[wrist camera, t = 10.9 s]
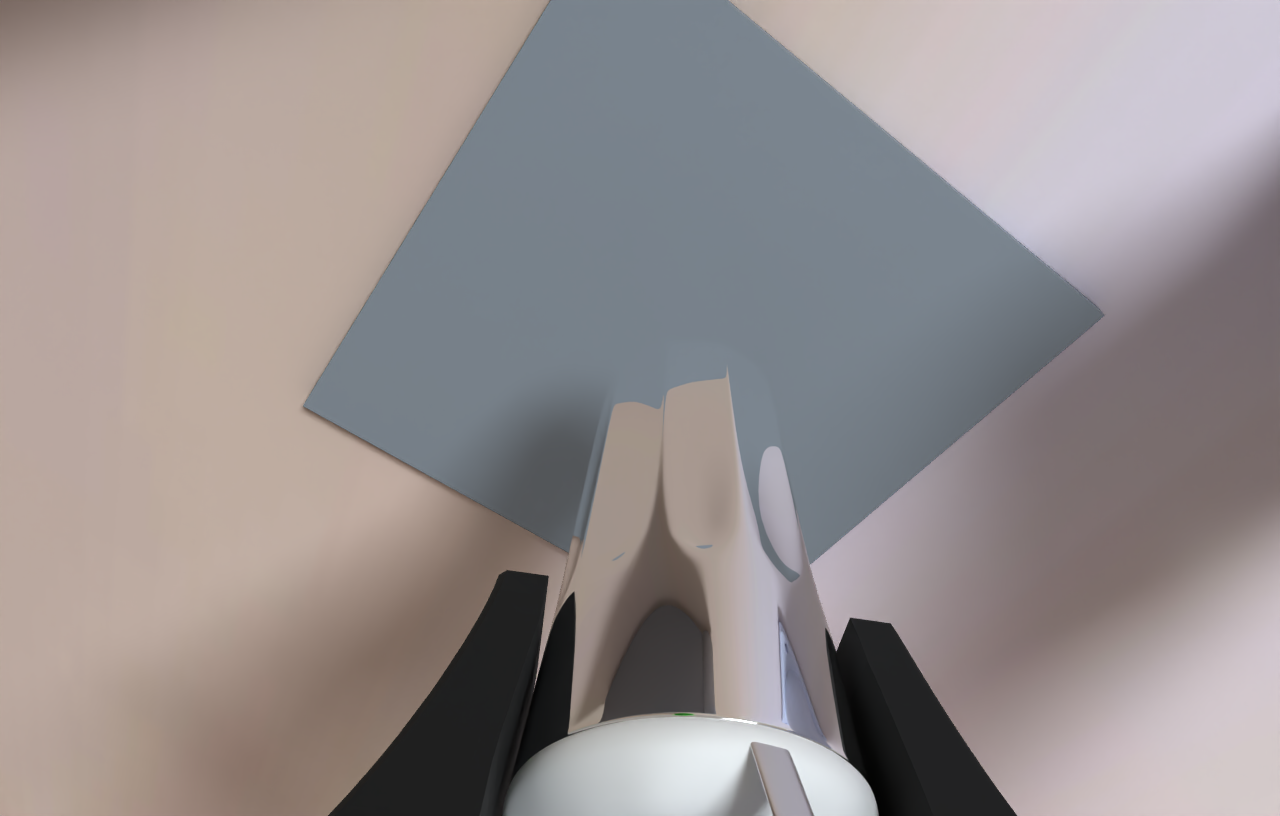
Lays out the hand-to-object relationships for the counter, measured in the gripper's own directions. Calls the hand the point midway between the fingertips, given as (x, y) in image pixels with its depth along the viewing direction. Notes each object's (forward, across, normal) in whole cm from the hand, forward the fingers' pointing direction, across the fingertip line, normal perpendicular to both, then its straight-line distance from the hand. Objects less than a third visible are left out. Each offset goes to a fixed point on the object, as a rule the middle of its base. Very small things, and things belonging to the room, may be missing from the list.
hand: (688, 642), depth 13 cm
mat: (+10, 0, +1) cm, 10 cm away
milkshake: (+5, 0, -1) cm, 5 cm away
